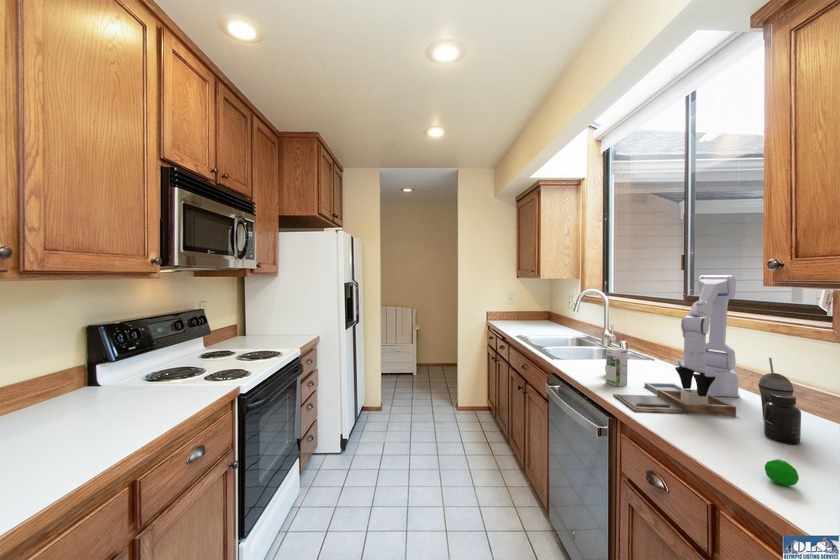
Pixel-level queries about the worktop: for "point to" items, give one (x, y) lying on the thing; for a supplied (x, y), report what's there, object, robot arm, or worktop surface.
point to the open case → (675, 404)
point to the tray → (662, 386)
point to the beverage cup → (773, 386)
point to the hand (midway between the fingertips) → (694, 392)
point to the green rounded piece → (781, 472)
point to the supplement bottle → (782, 419)
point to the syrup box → (616, 366)
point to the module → (693, 397)
